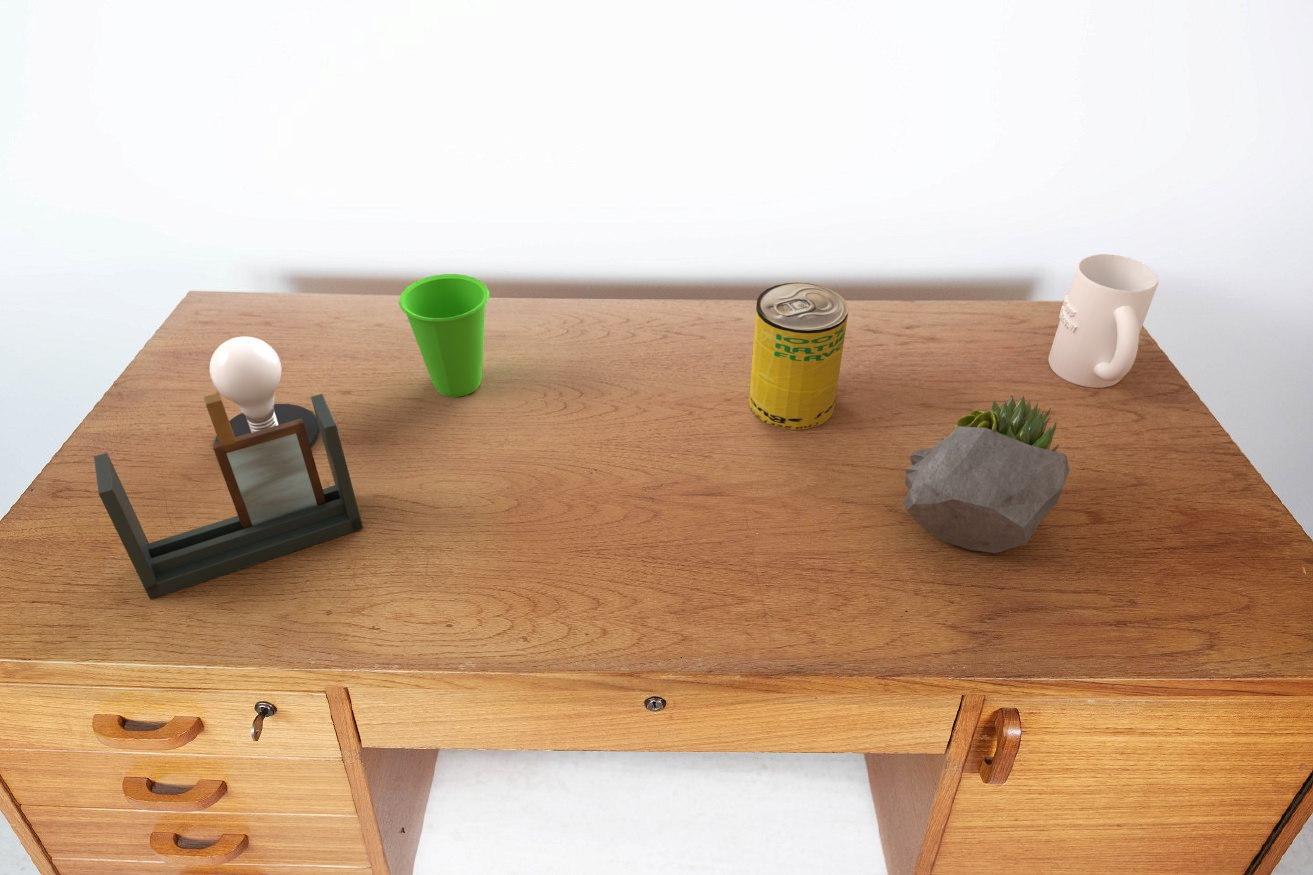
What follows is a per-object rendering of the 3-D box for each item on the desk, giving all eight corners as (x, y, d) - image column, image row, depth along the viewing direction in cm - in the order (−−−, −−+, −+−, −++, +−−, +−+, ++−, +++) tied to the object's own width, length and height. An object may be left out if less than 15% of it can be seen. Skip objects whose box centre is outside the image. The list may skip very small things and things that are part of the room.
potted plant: (867, 505, 85) (916, 382, 93) (964, 586, 89) (1004, 461, 96) (973, 473, 75) (1018, 338, 83) (1078, 566, 79) (1112, 428, 86)
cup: (507, 362, 108) (497, 275, 101) (488, 411, 101) (476, 321, 94) (429, 357, 109) (414, 271, 102) (405, 406, 102) (386, 316, 95)
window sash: (246, 538, 84) (197, 406, 75) (243, 529, 85) (195, 398, 76) (329, 511, 87) (291, 381, 78) (326, 503, 88) (288, 373, 79)
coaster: (225, 482, 92) (223, 477, 92) (208, 425, 99) (207, 420, 99) (330, 450, 96) (329, 446, 96) (307, 398, 103) (306, 393, 102)
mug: (1069, 410, 102) (1102, 312, 94) (1036, 347, 111) (1064, 253, 103) (1148, 411, 101) (1187, 313, 94) (1108, 347, 111) (1142, 254, 103)
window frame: (150, 599, 81) (98, 493, 73) (143, 561, 84) (93, 456, 77) (363, 528, 87) (336, 424, 80) (349, 495, 91) (322, 393, 83)
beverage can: (851, 413, 101) (867, 314, 93) (781, 439, 98) (791, 339, 90) (800, 370, 107) (811, 274, 100) (732, 393, 104) (738, 296, 96)
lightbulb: (250, 412, 100) (220, 321, 93) (309, 416, 99) (283, 325, 92) (221, 451, 95) (188, 358, 88) (284, 456, 94) (254, 363, 87)
